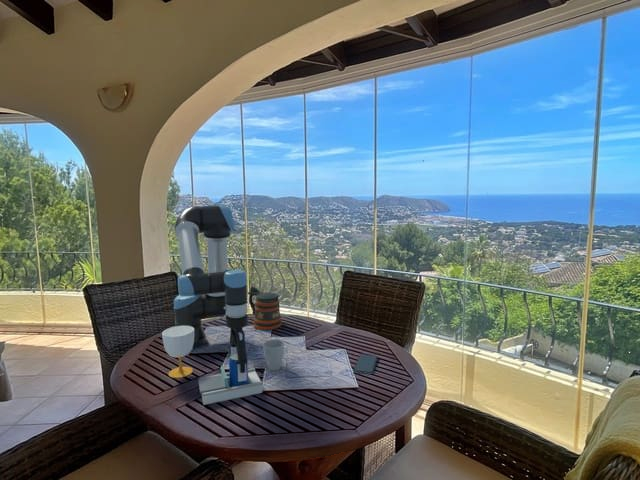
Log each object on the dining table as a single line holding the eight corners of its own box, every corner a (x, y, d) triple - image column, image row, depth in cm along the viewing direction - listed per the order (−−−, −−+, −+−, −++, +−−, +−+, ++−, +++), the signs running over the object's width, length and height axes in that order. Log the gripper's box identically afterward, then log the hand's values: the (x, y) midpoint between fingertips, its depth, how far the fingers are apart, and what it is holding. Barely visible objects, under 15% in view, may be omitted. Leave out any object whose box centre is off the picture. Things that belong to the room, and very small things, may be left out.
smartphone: (353, 370, 148) (360, 353, 162) (353, 374, 148) (360, 356, 163) (372, 372, 146) (377, 355, 160) (372, 376, 146) (377, 358, 160)
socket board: (200, 387, 137) (199, 377, 136) (254, 377, 144) (254, 367, 144) (203, 405, 126) (202, 394, 125) (262, 392, 133) (262, 382, 133)
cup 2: (287, 364, 155) (287, 341, 154) (279, 373, 147) (278, 349, 146) (269, 361, 157) (269, 338, 156) (260, 370, 150) (259, 346, 149)
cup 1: (157, 377, 145) (155, 334, 143) (179, 363, 156) (176, 324, 154) (182, 382, 141) (180, 338, 139) (202, 368, 152) (200, 327, 150)
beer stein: (240, 327, 197) (239, 289, 195) (256, 318, 211) (255, 283, 208) (272, 332, 190) (271, 293, 187) (286, 322, 203) (285, 286, 201)
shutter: (198, 381, 135) (197, 371, 134) (223, 376, 138) (223, 366, 138) (200, 393, 127) (199, 383, 126) (227, 388, 130) (227, 378, 129)
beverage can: (244, 393, 132) (243, 360, 131) (226, 391, 134) (225, 359, 132) (251, 383, 139) (250, 352, 137) (234, 381, 140) (233, 351, 138)
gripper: (220, 305, 143) (223, 359, 145) (231, 327, 120) (234, 390, 123) (240, 303, 145) (242, 355, 148) (255, 324, 123) (257, 386, 125)
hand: (238, 371), depth 135 cm, fingers open, 13 cm apart
